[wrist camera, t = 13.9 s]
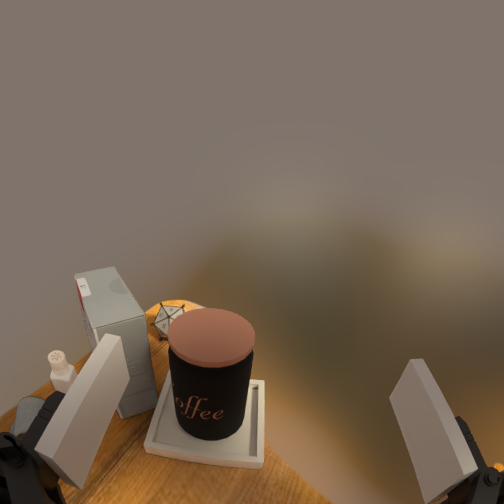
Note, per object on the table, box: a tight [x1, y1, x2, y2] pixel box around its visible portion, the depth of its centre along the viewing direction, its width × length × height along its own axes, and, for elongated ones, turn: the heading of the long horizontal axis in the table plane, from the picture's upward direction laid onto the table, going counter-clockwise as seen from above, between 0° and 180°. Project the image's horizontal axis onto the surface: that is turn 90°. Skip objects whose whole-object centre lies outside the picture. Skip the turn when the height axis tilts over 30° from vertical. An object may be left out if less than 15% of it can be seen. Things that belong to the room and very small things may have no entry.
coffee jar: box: [167, 308, 256, 441], centre depth 38 cm, size 11×11×18 cm
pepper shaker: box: [48, 350, 78, 394], centre depth 38 cm, size 4×4×10 cm
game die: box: [150, 302, 185, 340], centre depth 59 cm, size 9×8×10 cm
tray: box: [143, 369, 264, 469], centre depth 41 cm, size 17×17×2 cm
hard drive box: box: [74, 267, 158, 419], centre depth 42 cm, size 16×8×20 cm, turn 39°
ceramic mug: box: [9, 396, 46, 442], centre depth 28 cm, size 11×8×8 cm
